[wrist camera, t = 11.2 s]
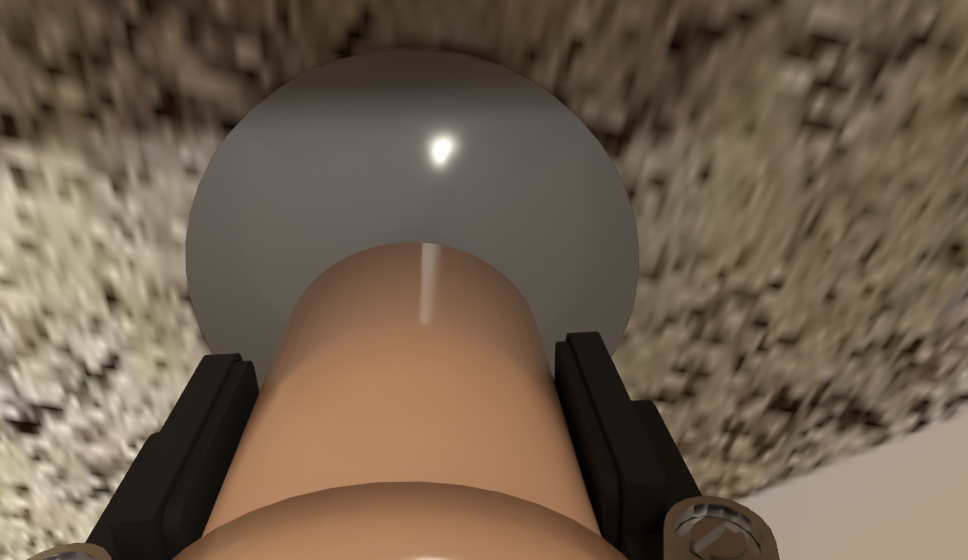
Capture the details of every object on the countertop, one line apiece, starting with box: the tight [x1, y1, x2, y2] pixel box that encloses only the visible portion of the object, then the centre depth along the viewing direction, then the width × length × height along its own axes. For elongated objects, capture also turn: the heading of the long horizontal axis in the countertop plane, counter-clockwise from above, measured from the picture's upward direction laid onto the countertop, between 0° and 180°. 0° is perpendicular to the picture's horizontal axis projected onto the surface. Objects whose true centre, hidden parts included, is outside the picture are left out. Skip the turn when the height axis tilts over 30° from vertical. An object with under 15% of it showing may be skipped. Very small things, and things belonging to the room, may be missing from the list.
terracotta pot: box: [172, 242, 628, 560], centre depth 10 cm, size 6×6×8 cm
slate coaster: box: [186, 47, 639, 392], centre depth 17 cm, size 11×11×1 cm
